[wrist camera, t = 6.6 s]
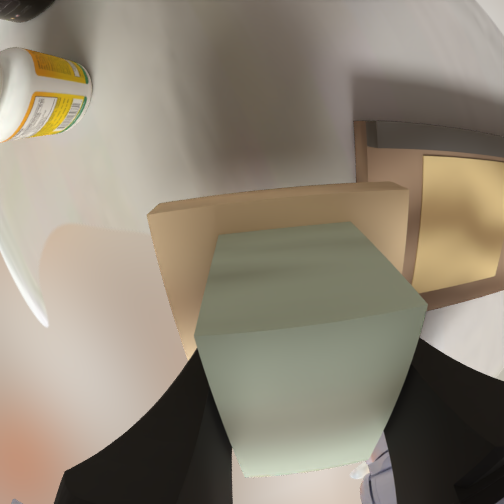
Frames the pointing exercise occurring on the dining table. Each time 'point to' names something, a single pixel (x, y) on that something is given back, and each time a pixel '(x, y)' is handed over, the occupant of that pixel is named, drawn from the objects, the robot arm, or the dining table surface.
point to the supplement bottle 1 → (22, 9)
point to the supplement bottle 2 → (40, 94)
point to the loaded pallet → (295, 315)
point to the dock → (442, 204)
